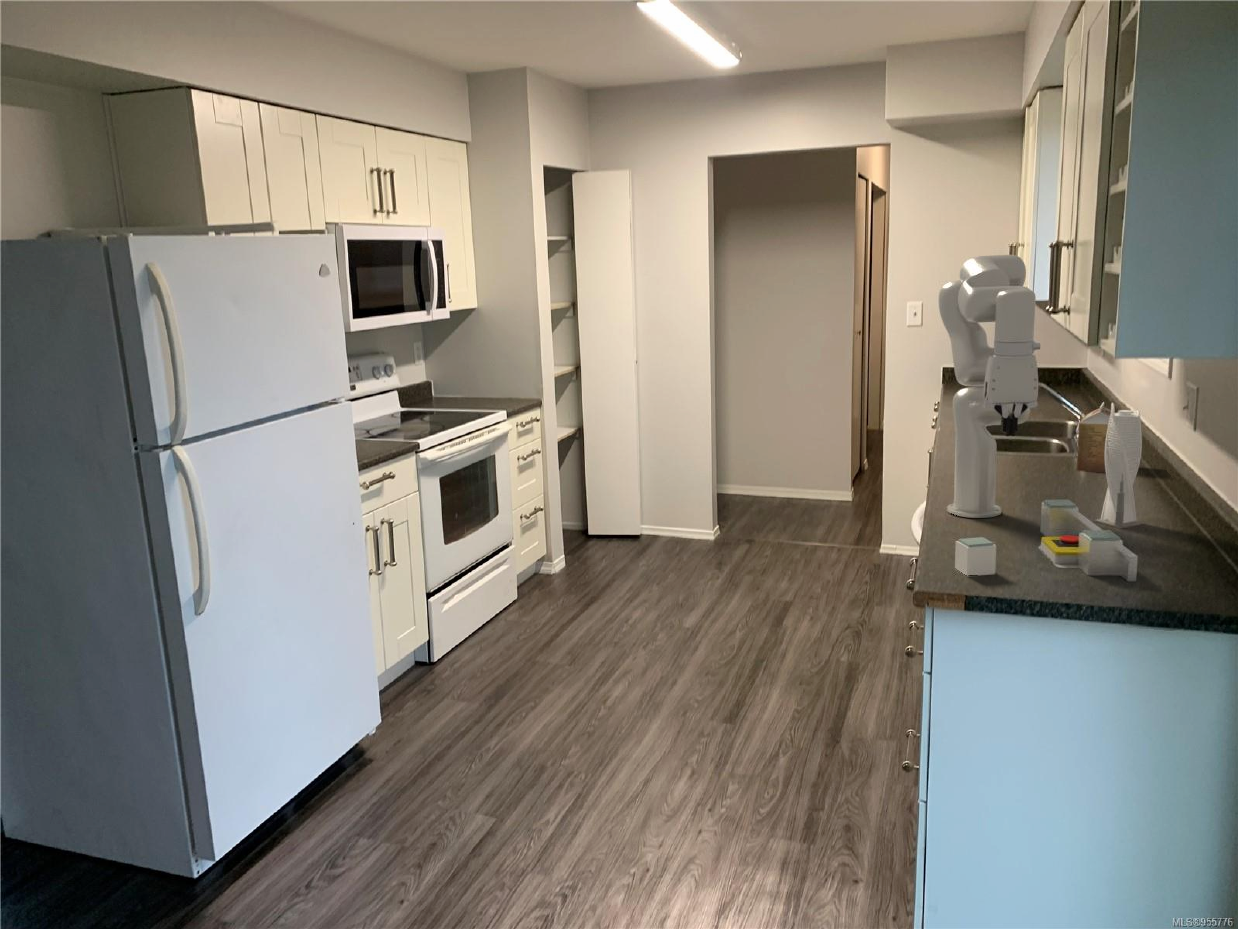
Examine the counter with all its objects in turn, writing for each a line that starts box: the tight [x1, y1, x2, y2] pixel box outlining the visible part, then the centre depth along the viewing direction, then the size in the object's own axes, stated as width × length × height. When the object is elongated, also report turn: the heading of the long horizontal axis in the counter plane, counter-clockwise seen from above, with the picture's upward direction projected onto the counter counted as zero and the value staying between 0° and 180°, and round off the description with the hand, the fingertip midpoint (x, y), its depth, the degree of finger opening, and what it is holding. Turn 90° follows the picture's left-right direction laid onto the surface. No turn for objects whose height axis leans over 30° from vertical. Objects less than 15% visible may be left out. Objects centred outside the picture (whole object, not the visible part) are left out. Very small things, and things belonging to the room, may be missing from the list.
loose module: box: [954, 536, 997, 577], centre depth 183 cm, size 5×6×6 cm
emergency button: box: [1038, 536, 1081, 569], centre depth 189 cm, size 9×4×15 cm
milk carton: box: [1076, 401, 1111, 473], centre depth 265 cm, size 11×11×19 cm
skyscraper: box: [1093, 402, 1143, 530], centre depth 210 cm, size 8×8×28 cm
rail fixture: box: [1039, 499, 1139, 582], centre depth 192 cm, size 38×8×8 cm, turn 171°
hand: (1008, 434), depth 194 cm, fingers closed
